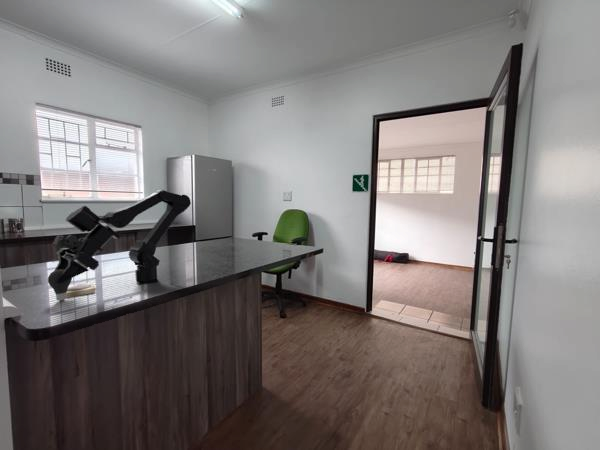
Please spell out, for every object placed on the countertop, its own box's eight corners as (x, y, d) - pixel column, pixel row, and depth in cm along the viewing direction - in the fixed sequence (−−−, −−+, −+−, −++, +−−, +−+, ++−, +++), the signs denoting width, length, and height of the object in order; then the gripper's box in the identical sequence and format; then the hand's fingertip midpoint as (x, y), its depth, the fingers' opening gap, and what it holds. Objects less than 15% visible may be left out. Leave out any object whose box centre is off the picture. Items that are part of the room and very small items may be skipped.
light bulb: (59, 305, 82) (57, 272, 81) (44, 303, 83) (42, 271, 82) (78, 298, 88) (76, 267, 87) (63, 297, 89) (61, 266, 88)
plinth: (93, 286, 100) (93, 281, 100) (95, 292, 94) (94, 287, 93) (60, 291, 95) (60, 286, 95) (60, 298, 88) (59, 293, 88)
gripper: (62, 223, 92) (18, 262, 84) (83, 226, 82) (36, 270, 73) (91, 244, 99) (54, 281, 91) (115, 249, 89) (75, 291, 80)
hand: (54, 281), depth 84 cm, fingers closed on light bulb, 6 cm apart
